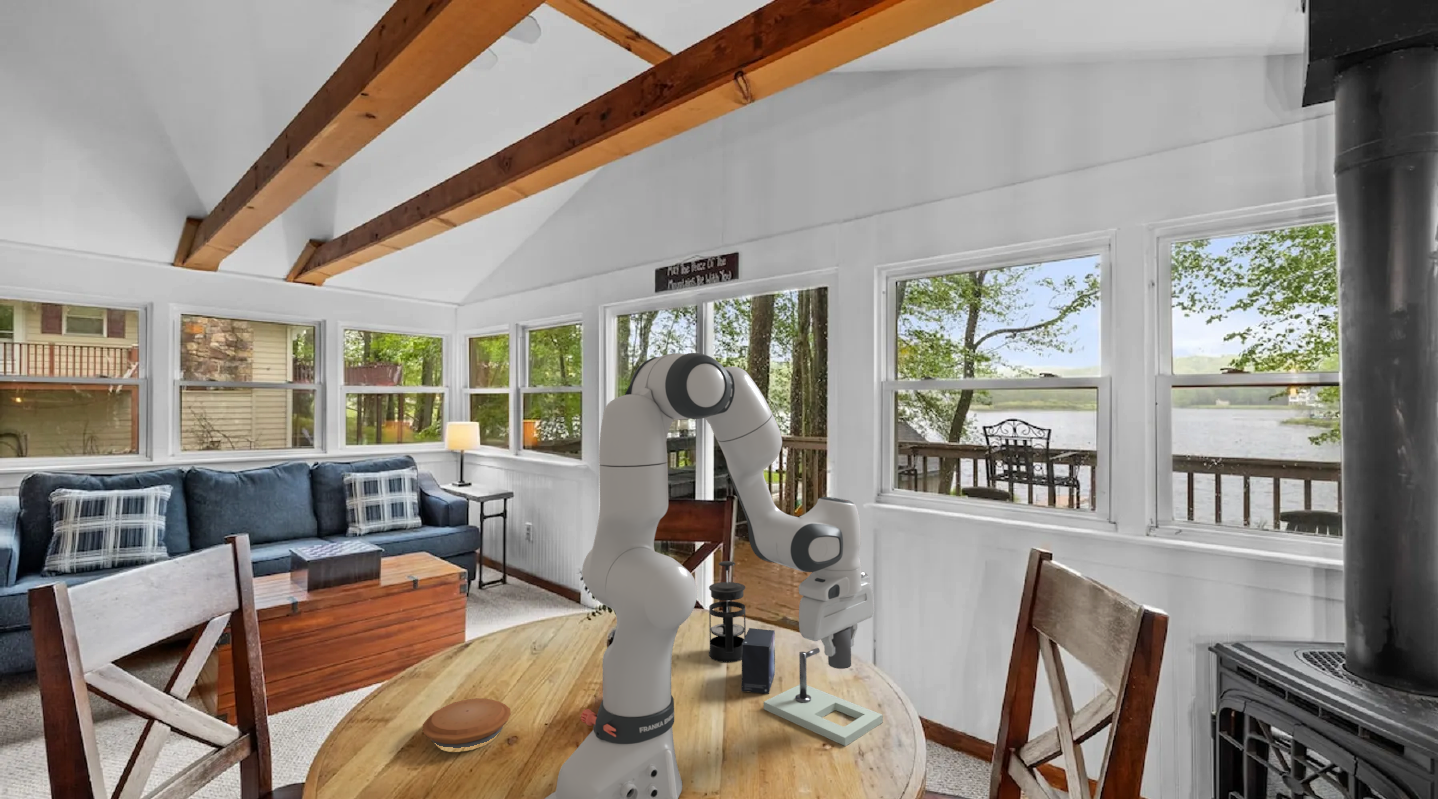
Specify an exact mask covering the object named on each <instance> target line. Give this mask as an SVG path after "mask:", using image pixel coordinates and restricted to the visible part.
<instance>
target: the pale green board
mask: <svg viewBox="0 0 1438 799" xmlns="http://www.w3.org/2000/svg"><path fill="white" fill-rule="evenodd" d="M798 694H800V683H799V684H797V685H796V686H794V687H792V688H789V689H787V690H785V691H784V692H780V693H779V694H776V695H775V696H773V697H770V698H768V699H766V700H765V701H763V710H765V711H767V712H769V713H771V714H773V715H776V716H778V717H780V718H782V719H784V720H787V721H789V722H791V723H793V724H796V725H798V726H799V727H802V728H804V729H806V730H808V731H811V732H813V733H815V734H818V735H820V736H822V737H824V738H827V739H829V740H831V741H833V742H835V743H837V744H839V745H842V746H844V747H846V746H848V745H849V744H851V743H852V742H855V741H856V740H858V739H859V738H861V737H862V736H864V735H866V733H868V732H869V731H871V730H873V729H874V728H877V727H878V726H880V725H881V724H883V721H884V719H883V717H884V716H883V714H882V713H880V712H876V711H874V710H871V709H869V708H867V707H864V706H862V705H859V704H856V703H853V702H851V701H849V700H846V699H844V698H841V697H839V696H836V695H833V694H831V693H828V692H825V691H824V690H821V689H818V688H816V687H813V686H810V685H808V684H807V695H809V696H811V701H810V702H808V703H801V702H798V701H796V699H795V697H796V695H798ZM835 711H838V712H840V713H842V714H845V715H847V716H849V717H852V718H854V720H853V721H852V722H850V723H848V724H847V725H844V726H842V725H840V724H838V723H837V722H833V721H831V720H829V719H826V718H824V717H825V716H828V715H829V714H831V713H832V712H835Z"/></svg>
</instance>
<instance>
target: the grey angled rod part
mask: <svg viewBox="0 0 1438 799" xmlns="http://www.w3.org/2000/svg"><path fill="white" fill-rule="evenodd" d="M820 652H821V650H820V648H819V647H816V648H813V649H811V650H809V651H799V655H798V656H799V662H798V663H799V684H800V694H798V695H796V697H795V699H796V701H798V702H801V703H808V702H810V701H811V696H809V695H807V685H808V683H807V681H808V679H807V677H808V676H807V659H808V658H810V657H813V656H814V655H817V654H819V653H820Z"/></svg>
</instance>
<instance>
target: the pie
mask: <svg viewBox="0 0 1438 799" xmlns="http://www.w3.org/2000/svg"><path fill="white" fill-rule="evenodd" d="M511 713H512V712H511V708H510V707H509V706H508V705H506V703H503V702H501V701H499V700H494V699H491V698H482V697H481V698H470V699H469V698H468V699H463V700H458V701H456V702H452V703H449V704H447V705H445V706H443V707H441V708H440V709H437V710H435V711H434V712H432V714H430V715H429V716H428V717H427V719H426V720H425V721H424V722H423V723H422V729H421V730H422V732H423V734H424V735H425V736H426V737H427V738H428V739H430V740H431V742H432V743H433V742H434V743H436V744H437V745H439V746H443V747H453V748H461V747H470V746H474V745H477V744H480V743H484V742H487V741H489V740H490V739H492V738H494V737H495V736H496V735H497V734H498V733H499V732H500V733H501V731H502V729H503V728H504V726H505V725H506V724H507V722H508V721H509V719H510V717H511ZM500 733H499V734H500ZM434 743H433V744H434Z"/></svg>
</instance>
